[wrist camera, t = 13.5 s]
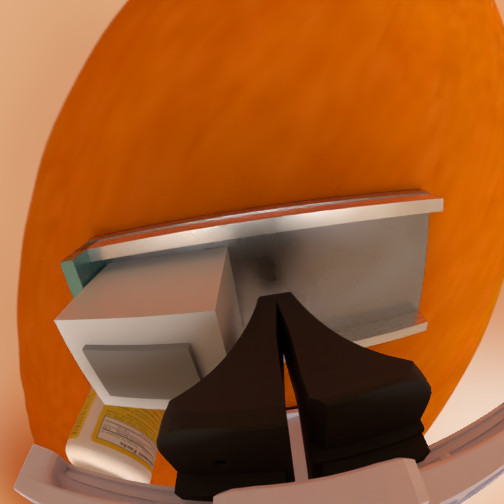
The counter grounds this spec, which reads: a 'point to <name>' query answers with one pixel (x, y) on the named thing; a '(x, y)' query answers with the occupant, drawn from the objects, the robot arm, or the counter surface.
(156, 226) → the rail plate
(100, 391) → the block
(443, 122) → the counter surface
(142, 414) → the supplement bottle
